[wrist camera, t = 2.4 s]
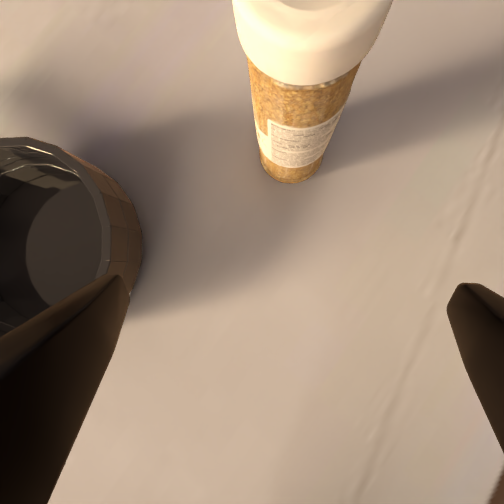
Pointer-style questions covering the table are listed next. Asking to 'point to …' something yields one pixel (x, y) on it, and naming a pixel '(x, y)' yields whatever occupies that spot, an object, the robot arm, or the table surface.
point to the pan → (58, 228)
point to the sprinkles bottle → (303, 73)
